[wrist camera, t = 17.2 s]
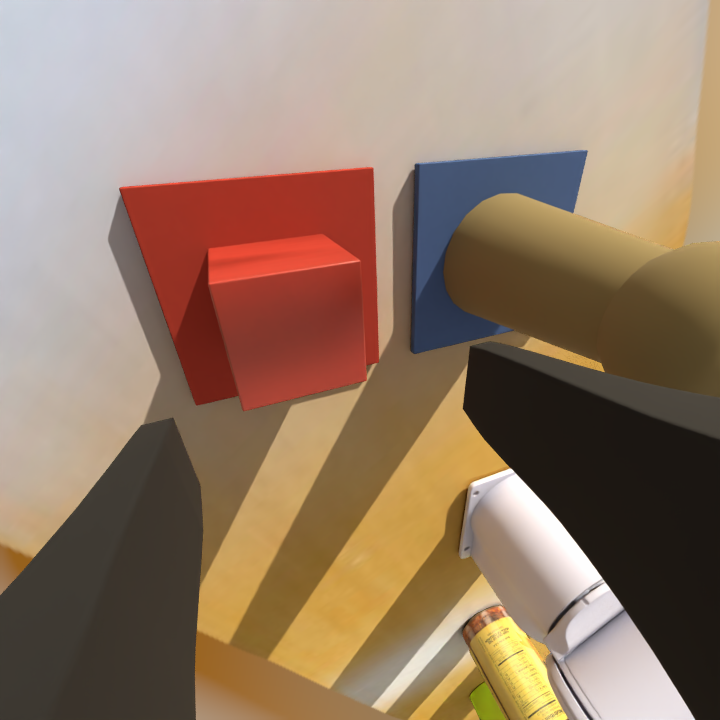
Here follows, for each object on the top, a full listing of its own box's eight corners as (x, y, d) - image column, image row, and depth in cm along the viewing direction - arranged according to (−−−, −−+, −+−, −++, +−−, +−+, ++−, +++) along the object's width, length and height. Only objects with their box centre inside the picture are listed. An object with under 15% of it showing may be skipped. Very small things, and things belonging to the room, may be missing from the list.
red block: (333, 332, 17) (367, 381, 13) (234, 352, 16) (242, 412, 12) (323, 233, 15) (361, 259, 11) (207, 248, 14) (207, 283, 10)
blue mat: (543, 320, 22) (548, 322, 22) (410, 351, 20) (414, 354, 19) (581, 150, 18) (588, 150, 17) (414, 163, 15) (418, 163, 15)
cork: (443, 327, 19) (649, 479, 10) (442, 206, 16) (740, 274, 7) (537, 298, 21) (790, 411, 12) (553, 181, 17) (920, 213, 8)
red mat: (376, 359, 19) (379, 362, 19) (196, 401, 17) (196, 406, 17) (369, 167, 15) (373, 167, 14) (120, 187, 12) (118, 188, 12)
